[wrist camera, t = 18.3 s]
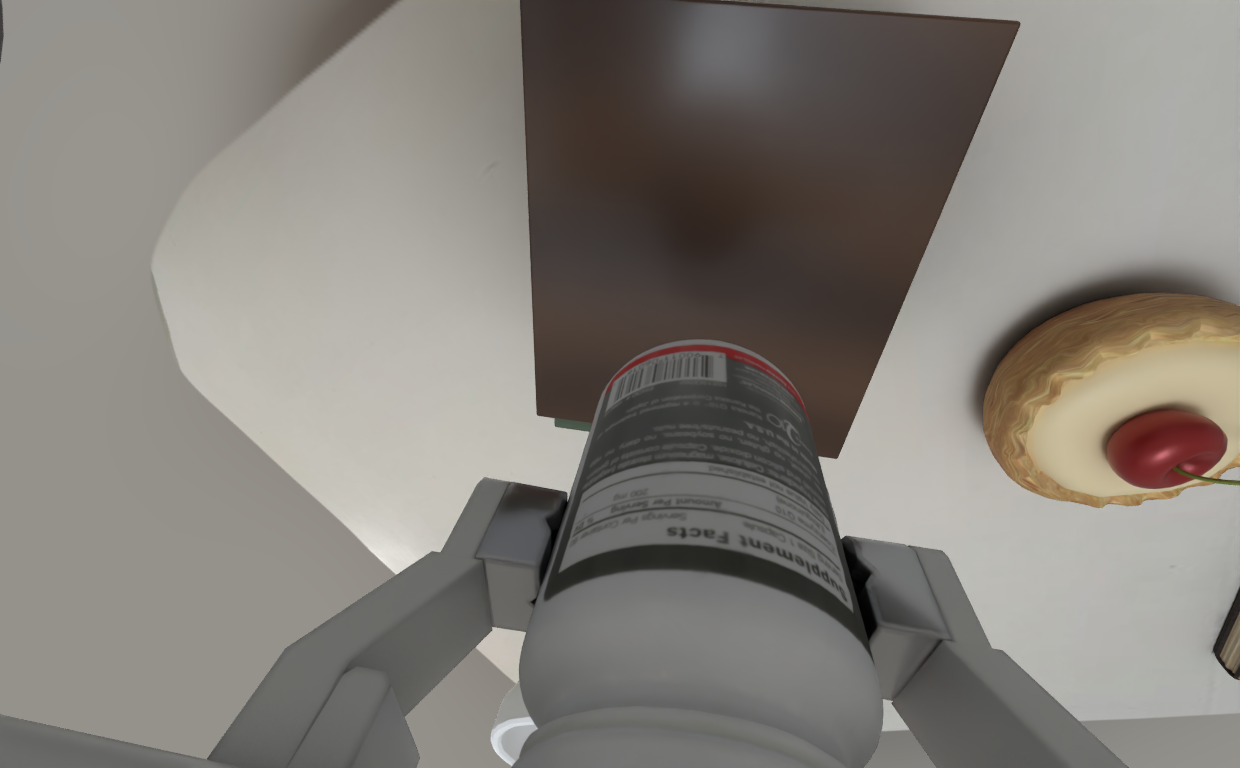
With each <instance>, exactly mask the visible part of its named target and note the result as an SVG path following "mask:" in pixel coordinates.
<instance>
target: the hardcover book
mask: <svg viewBox="0 0 1240 768" xmlns="http://www.w3.org/2000/svg"><path fill="white" fill-rule="evenodd" d="M1214 653H1215V656H1216V658H1217V660H1218V661H1219V663H1220V664H1221V665H1222V667H1223V668H1224V669H1225V670H1226V671H1227V672H1228V674H1229V675H1230V676H1232V677H1233V678H1235V679H1237V680H1240V592H1239V594H1238V596H1237V598H1236V601H1235V603H1234V605H1233V607H1232V610H1231V612H1230V614H1229V616H1228V619H1227V621H1226V623H1225V625H1224V628H1223V630H1222V632H1221V634H1220V637H1219V639H1218V641H1217V643H1216V646H1215V648H1214Z"/></svg>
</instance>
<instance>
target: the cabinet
mask: <svg viewBox="0 0 1240 768" xmlns="http://www.w3.org/2000/svg"><path fill="white" fill-rule="evenodd" d="M520 12H521V36H522V61H523V86H524V111H525V135H526V160H527V185H528V209H529V234H530V259H531V283H532V308H533V333H534V357H535V382H536V407H537V415H538V416H544V417H551V418H558V419H565V420H571V421H578V422H585V423H592V422H593V419H594V416H595V413H596V409H597V406H598V403H599V400H600V398H601V395H602V393H603V391H604V390H605V388H606V386H607V384H608V383H609V382H610V380H611V379H612V378H613V376H614V375H615V374H616V373H617V372H618V371H619V370H620V369H621V368H622V367H623V366H624V365H625V364H627V363H628V362H629V361H630V360H632V359H633V358H635V357H636V356H638V355H640V354H641V353H643V352H645V351H648V350H650V349H652V348H654V347H657V346H660V345H663V344H667V343H671V342H676V341H683V340H694V339H703V340H716V341H722V342H727V343H731V344H734V345H737V346H740V347H743V348H745V349H748V350H750V351H752V352H754V353H756V354H758V355H760V356H761V357H763V358H765V359H766V360H768V361H769V362H770V363H772V364H773V365H774V366H775V367H777V368H778V369H779V370H780V371H781V372H782V373H783V374H784V375H785V376H786V377H787V378H788V379H789V380H790V381H791V383H792V384H793V385H794V387H795V389H796V390H797V392H798V393H799V395H800V397H801V399H802V401H803V403H804V406H805V410H806V413H807V415H808V418H809V422H810V426H811V430H812V434H813V439H814V443H815V447H816V450H817V454H818V456H820V457H827V458H834V459H837V458H838V456H839V454H840V451H841V449H842V447H843V444H844V442H845V440H846V437H847V435H848V432H849V430H850V428H851V425H852V423H853V421H854V418H855V416H856V413H857V411H858V409H859V406H860V404H861V402H862V399H863V397H864V395H865V392H866V390H867V387H868V385H869V383H870V380H871V378H872V376H873V373H874V371H875V368H876V366H877V364H878V361H879V359H880V357H881V354H882V352H883V349H884V347H885V345H886V342H887V340H888V338H889V335H890V333H891V330H892V328H893V326H894V323H895V321H896V319H897V316H898V314H899V312H900V309H901V307H902V304H903V302H904V300H905V297H906V295H907V293H908V290H909V288H910V285H911V283H912V281H913V278H914V276H915V274H916V271H917V269H918V266H919V264H920V262H921V259H922V257H923V255H924V252H925V250H926V248H927V245H928V243H929V240H930V238H931V236H932V233H933V231H934V229H935V226H936V224H937V221H938V219H939V217H940V214H941V212H942V210H943V207H944V205H945V202H946V200H947V198H948V195H949V193H950V191H951V188H952V186H953V183H954V181H955V179H956V176H957V174H958V172H959V169H960V167H961V165H962V162H963V160H964V157H965V155H966V153H967V150H968V148H969V146H970V143H971V141H972V138H973V136H974V134H975V131H976V129H977V127H978V124H979V122H980V119H981V117H982V115H983V112H984V110H985V108H986V105H987V103H988V101H989V98H990V96H991V93H992V91H993V89H994V86H995V84H996V82H997V79H998V77H999V74H1000V72H1001V70H1002V67H1003V65H1004V63H1005V60H1006V58H1007V55H1008V53H1009V51H1010V48H1011V46H1012V44H1013V41H1014V39H1015V36H1016V34H1017V32H1018V29H1019V27H1020V22H1019V21H1011V20H996V19H982V18H967V17H953V16H938V15H924V14H909V13H895V12H880V11H865V10H851V9H836V8H822V7H807V6H793V5H778V4H764V3H749V2H735V1H720V0H520Z"/></svg>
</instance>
